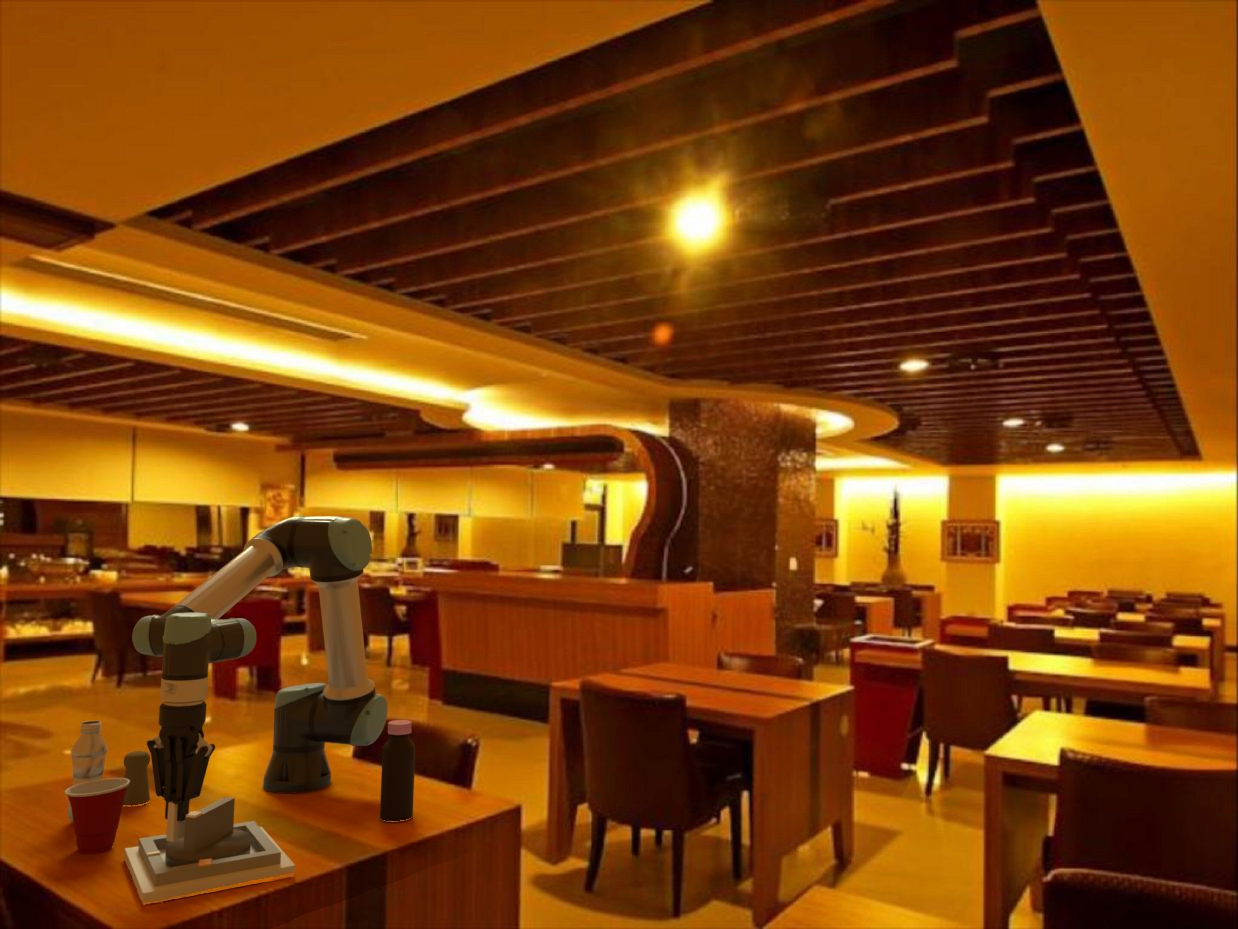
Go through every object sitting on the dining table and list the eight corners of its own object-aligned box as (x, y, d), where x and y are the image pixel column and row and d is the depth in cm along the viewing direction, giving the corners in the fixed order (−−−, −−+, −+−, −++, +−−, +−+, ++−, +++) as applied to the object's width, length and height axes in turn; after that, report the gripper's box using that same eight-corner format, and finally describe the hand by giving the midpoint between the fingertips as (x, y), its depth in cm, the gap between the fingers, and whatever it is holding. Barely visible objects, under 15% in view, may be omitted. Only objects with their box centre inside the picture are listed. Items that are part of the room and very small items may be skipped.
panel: (261, 837, 183) (262, 815, 183) (294, 877, 163) (295, 852, 163) (124, 859, 169) (125, 835, 170) (142, 906, 150) (144, 878, 150)
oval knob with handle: (196, 839, 174) (198, 791, 175) (265, 845, 172) (267, 796, 173) (147, 866, 161) (150, 814, 161) (221, 872, 158) (224, 820, 159)
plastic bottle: (111, 819, 192) (117, 720, 193) (83, 829, 185) (89, 727, 186) (88, 815, 194) (93, 718, 195) (59, 825, 187) (65, 724, 189)
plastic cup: (78, 839, 180) (82, 776, 180) (136, 838, 180) (140, 776, 181) (49, 859, 169) (53, 792, 169) (110, 859, 170) (114, 792, 170)
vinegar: (419, 818, 197) (422, 722, 198) (391, 825, 192) (395, 727, 193) (400, 811, 201) (404, 717, 202) (373, 818, 196) (377, 722, 198)
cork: (155, 799, 205) (158, 749, 206) (139, 808, 199) (142, 756, 200) (130, 798, 206) (132, 748, 206) (112, 806, 200) (115, 754, 200)
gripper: (137, 702, 162) (128, 840, 160) (197, 709, 158) (189, 850, 157) (169, 695, 169) (161, 827, 168) (228, 701, 165) (221, 837, 164)
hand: (175, 838), depth 162 cm, fingers closed
